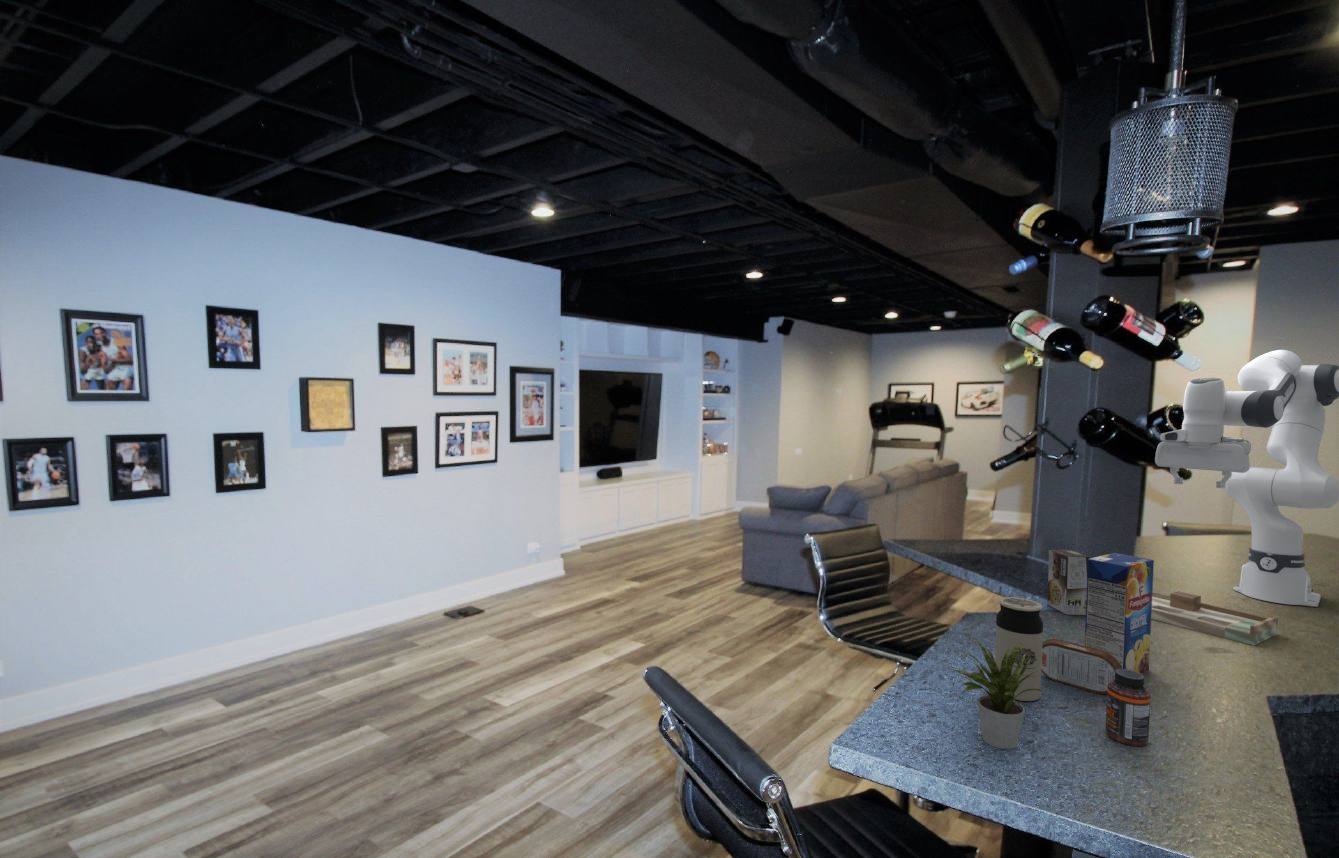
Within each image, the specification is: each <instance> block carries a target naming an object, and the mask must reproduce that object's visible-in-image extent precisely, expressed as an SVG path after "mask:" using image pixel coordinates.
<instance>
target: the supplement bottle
mask: <svg viewBox="0 0 1339 858" xmlns="http://www.w3.org/2000/svg"><path fill="white" fill-rule="evenodd" d="M1114 677H1115V679H1114V680H1112V681H1110V682H1109V683H1108V687H1107V694H1106V710H1105V732H1106V734H1107V735H1108V736H1109V737H1110V738H1111V739H1113V740H1115V741H1117V742H1119V743H1122V744H1124V745H1128V746H1133V747H1143V746H1146V745H1147V744H1149V743H1148V742H1149V735H1150V717H1151V716H1150V715H1151V714H1150V712H1151V693H1150V691H1149V689H1148V688H1146V686H1144V685H1145V676H1144V675H1143V673H1142V674H1140V673H1138V672H1135V671H1132V670H1128V669H1117V670H1115V676H1114Z"/></svg>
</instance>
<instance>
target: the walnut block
mask: <svg viewBox="0 0 1339 858" xmlns="http://www.w3.org/2000/svg"><path fill="white" fill-rule="evenodd" d="M1201 601H1202V596H1201V595H1199V594H1194V593H1189V592H1185V591H1180V590H1178V591H1173V592H1171V593H1170V606H1171V607H1175V608H1180V609H1184V610H1188V611H1195V610H1198V609H1200V607H1201V603H1202V602H1201Z"/></svg>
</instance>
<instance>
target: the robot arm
mask: <svg viewBox="0 0 1339 858" xmlns="http://www.w3.org/2000/svg"><path fill="white" fill-rule="evenodd" d="M1237 382H1238V386H1239V387H1240V389H1241V390H1232V391H1231V390H1230V391H1228V390H1227V389H1225V382H1224V380H1223V378H1220V377H1202V378H1201V377H1200V378H1194V379H1191V380H1190V381H1188V382H1187V384H1186V387H1185V391H1184V396H1183V403H1182V404H1183V405H1182V410H1183V415H1184V418H1183V420H1182V423H1181V429H1177V430H1172V431H1167V432H1163V433H1161V434H1160V437H1159V438H1160V441H1161V442H1159V443H1158V445H1157V448H1156V451H1155V457H1154V463H1155V465H1157V467H1163V468H1164V467H1165V468H1169V473H1170V474H1171V476H1172V477H1173V479H1174V480H1173V484H1175V485H1183V483H1184V478H1183V477H1180V476H1179V472H1180V469H1186V470H1187V469H1190V470H1192V469H1193V470H1201V471H1204V470H1205V471H1216V472H1221V476H1223V477H1222V478H1221V480H1218V481H1216V482H1215V484H1216V485H1215V488H1217V489H1224V490H1225V491H1224V492H1225V493H1226V494H1227V496H1228V497H1230V498H1231V499H1233V500H1234V501H1235V502H1237V503H1238V504H1239V505H1240V506H1241V508H1242V509H1243V510H1244V512H1245V513H1246V515H1247V517H1248V520H1249V524H1250V529H1251V530H1250V531H1251V532H1250V535H1251V543H1250V545H1251V547H1250V548H1249V549H1248V562H1246V563H1244V564H1243V565H1242V566H1241V572H1240V579H1239V585H1236V586H1233V589H1232V590H1233V591H1236V592H1239V593H1241V594H1242V595H1245V596H1247V597H1249V598H1252V599H1256V600H1260V601H1266V602H1270V603H1277V604H1283V605H1293V606H1305V607H1319V604H1320V601H1321V593H1318V592H1313V591H1314V589H1313V588H1311V587H1312V586H1311V585H1312V582H1311V581H1312V578H1311V576H1310V575H1309V572H1308V571H1307V570H1306V569H1305V566H1306V564H1305V562H1306V553H1303V547H1304V530H1303V528H1302V526H1301V525H1299V523H1297V522H1296V521H1294V520H1293V519H1291V518H1288V517H1286V516H1285V515H1283V514H1282V512H1281V511H1280V509H1279V507H1288V508H1298V509H1307V510H1309V509H1311V510H1313V509H1315V510H1317V509H1320V510H1321V509H1330V508H1332V507H1333V506H1335V505H1337V504H1338V502H1339V480H1338V479H1337V478H1336V477H1335V476H1333V475H1332V474H1330V473H1328V472H1327V471H1326V470H1324V468H1323V467H1322V466H1321V464H1320V461H1319V451H1320V445H1321V441H1322V438H1323V435H1324V432H1325V431H1324V430H1325V425H1326V424H1325V423H1326V410H1325V407H1328V406H1330V405H1332V404H1333V403H1334V401H1336V400H1337V399H1339V365H1336V364H1329V363H1326V364H1325V363H1321V364H1307V365H1306V364H1303V362H1302V360H1301V358H1300V356H1299V355H1298V354H1296V353H1295V352H1293V351H1290V350H1287V349H1276V350H1271V351H1269V352H1266V353H1263V354H1261V355H1259V356H1257V357H1255V358H1254V359H1251V360H1250V361H1249V362H1248V363H1246V364H1245V365H1244V366H1243V367H1242V368H1241V369H1240V370H1239V372H1238V374H1237ZM1225 426H1229V427H1230V426H1232V427H1234V426H1235V427H1254V428H1263V429H1264V428H1265V429H1268V428H1271V427H1272V428H1271V431H1270V434H1269V438H1268V441H1267V444H1266V447H1265V448H1266V452H1267V454H1268V456H1269V457H1270V458H1272V459H1273V460H1274V461H1276V462H1277V463H1280V464H1283V465H1285V467H1284V468H1268V467H1257V466H1256V467H1255V466H1251V465H1250V461H1251V460H1250V453H1251V451H1252V449H1251V447H1252V444H1251V442H1250V441H1248V439H1245V438H1244V437H1227V436H1224V430H1225V429H1224V428H1225Z"/></svg>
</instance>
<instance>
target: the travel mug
mask: <svg viewBox="0 0 1339 858" xmlns="http://www.w3.org/2000/svg"><path fill="white" fill-rule="evenodd" d="M998 603H999V606H1000V610H999V611H998V612H997V614H996V616H995V617H996V621H995V623H996V625H995V646H994V647H995V648H994V649H995V650H994V661H995V662H996V664H997V666H998V668H999V671H1000V668H1001V662H1002V659H1003V657H1004V655H1005V653H1006V651H1007V650H1008V649H1009V654H1008V656H1009V655H1010V653H1011V652H1012V650H1013V649H1014V648H1015V647H1016V646H1017V645H1019V644H1021V643H1022V646H1021V647H1020V649H1021V650H1020V651H1019V653H1018V655H1017V657H1016V659H1015V662H1014V664H1013V668H1012V673H1011V676H1012V675H1013V673H1014V671H1015V669H1016V667H1017V666H1018V664H1019V662H1020V660H1021V658H1022V657H1023V655H1024V654H1025V653H1026V655H1025V658H1024V661H1023V664H1022V666H1021V667H1020V669H1019V671H1018V673H1017V674H1019V673H1020V672H1021V670H1022V668H1023V667H1024V666H1025V664H1026V663H1027V662H1028V661H1029V660H1030V659H1031V660H1030V662H1029V664H1028V666H1027V668H1026V670H1025V671H1024V673H1023V674H1022V676H1021V677H1020V679H1019V680H1018V682H1019V681H1020V680H1021V679H1023V678H1024V677H1026V676H1027V675H1029V674H1030V673H1033V672H1035V673H1033V674H1031V675H1030V676H1029V677H1028V678H1026V679H1025V680H1023V681H1022V682H1021V683H1020V685H1019V688H1018V689H1017V690H1016V691H1015V693H1014V698H1015V697H1016V696H1017V695H1018V694H1019V693H1020V692H1022V691H1024V690H1027V689H1034V688H1035V689H1040V690H1042V689H1041V688H1042V672H1041V666H1042V642H1043V636H1044V635H1043V634H1044V622H1043V620H1042V618H1041V616H1040V613H1041V610H1042V609H1043V605H1042V604H1041V603H1039V602H1037V601H1034V600H1031V599H1027V598H1023V597H1015V596H1013V597H1012V596H1006V597H1001V598H999V599H998ZM1038 670H1039V671H1038ZM1036 671H1037V672H1036ZM1018 682H1017V683H1018ZM1041 693H1042V692H1041V691H1038V690H1030V691H1025V692H1023V693H1021V694H1019V695H1018V696H1017V697H1016V698H1015V699H1014V701H1020V702H1032V701H1037V700H1040V698H1041Z"/></svg>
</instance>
